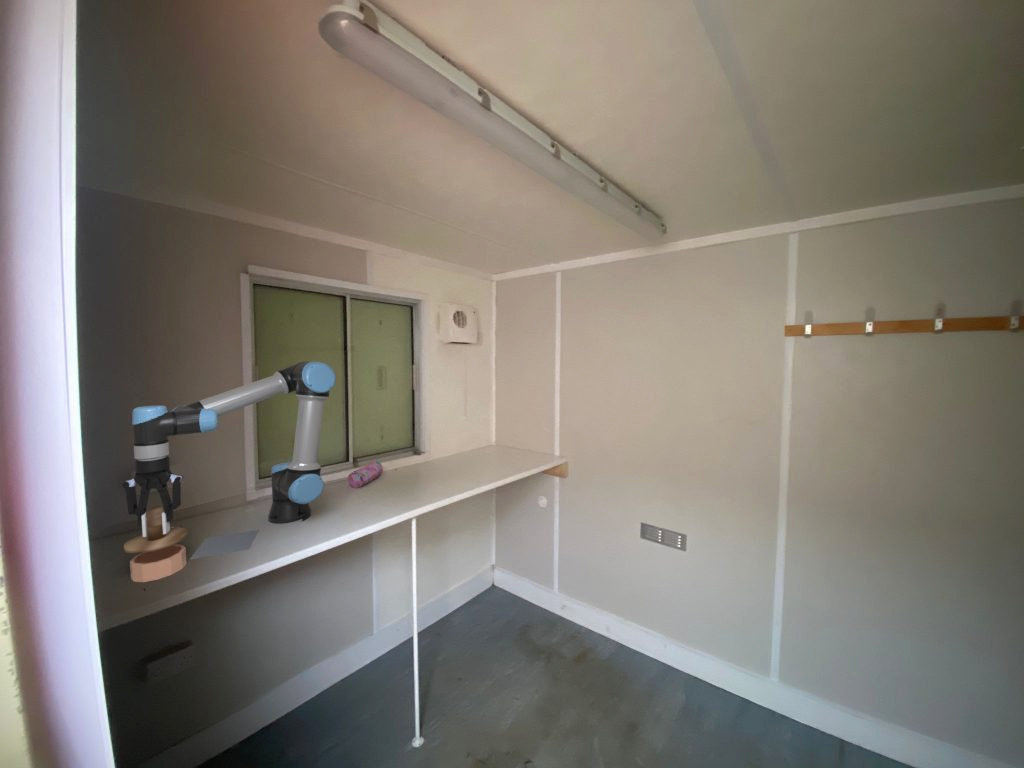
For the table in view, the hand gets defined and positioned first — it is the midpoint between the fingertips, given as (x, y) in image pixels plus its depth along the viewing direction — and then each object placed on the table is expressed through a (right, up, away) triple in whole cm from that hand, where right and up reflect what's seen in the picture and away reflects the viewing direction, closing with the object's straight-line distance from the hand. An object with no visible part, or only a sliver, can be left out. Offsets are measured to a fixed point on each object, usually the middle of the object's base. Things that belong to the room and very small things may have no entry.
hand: (156, 533), depth 114 cm
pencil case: (+30, -7, +86) cm, 91 cm away
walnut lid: (0, -3, 0) cm, 3 cm away
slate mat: (+8, -11, +18) cm, 22 cm away
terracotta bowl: (0, -13, +1) cm, 13 cm away
